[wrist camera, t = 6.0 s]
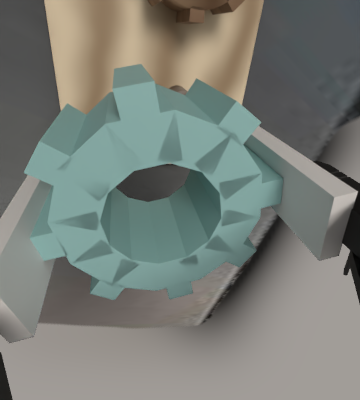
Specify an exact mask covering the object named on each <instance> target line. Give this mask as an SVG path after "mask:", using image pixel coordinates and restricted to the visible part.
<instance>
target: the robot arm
mask: <svg viewBox="0 0 360 400" xmlns="http://www.w3.org/2000/svg"><path fill="white" fill-rule="evenodd" d="M244 145H246V146H247V147H248V148H249V149H250V150H251V151H252V152H254V153H255V154H256V155H257V156H258V157H259V158H260V159H262V160H263V161H264V162H265V163H266V164H267V165H268V166H270V167H271V168H272V169H273V170H274V171H275V172H276V173H278V174H279V175H280V176H281V177H282V178H283V187H282V197H281V203H280V204H276V205H272V206H271V207H272V208H273V209H274V210H275V212H276V213H277V214H278V215H279V216H280V217H281V218H282V219H283V221H284V222H285V223H286V224H287V225H288V226H289V227H290V228H291V229H292V231H293V232H294V233H295V234H296V235H297V236H298V237H299V239H300V240H301V241H302V242H303V243H304V244H305V245H306V247H307V248H308V249H309V250H310V251H311V252H312V253H313V255H314V256H315V257H316V258H317V259H318V260H319V261H320V260H324V259H328V258H331V257H336V256H339V253H340V250H341V246H342V243H343V244H344V245H345V246H347V248H349V249H350V253H349V256H348V260H347V262H346V265H345V268H344V275H347V274H348V272H349V269H350V268H351V272H352V276H353V279H354V284H355V287H356V291H357V295H358V299H359V303H360V183H358V182H356V181H355V180H353V179H351V178H350V177H347V175H345V174H343V173H342V172H339V170H337V169H336V168H334V167H332V166H331V165H328V164H325V163H322V162H319V161H314V162H312V161H311V160H309V159H308V158H306V157H305V156H303V155H302V154H300V153H299V152H297V151H296V150H294V149H293V148H291V147H290V146H288V145H286V144H285V143H283V142H282V141H280V140H279V139H277V138H276V137H274V136H273V135H271V134H270V133H268V132H267V131H265V130H264V129H262V128H261V127H259V126H258V127H257V128H256V129H255V131H254V132H253V133H252V134H251V135H250V137H249V138H248V139H247V140H246V141H245V143H244ZM51 187H52V185H51V184H48V183H46V182H44V181H41V180H39V179H37V178H35V177H32V176H30V175H28V176H27V177H26V179H25V180H24V182H23V184H22V185H21V187H20V188H19V190H18V192H17V193H16V195H15V196H14V198H13V199H12V201H11V203H10V204H9V206H8V207H7V209H6V211H5V212H4V214H3V215H2V217H1V218H0V334H1V335H2V336H3V337H4V338H5V339H6V340H7V341H8V342H9V343H12V342H16V341H20V340H24V339H27V338H31V337H34V335H35V331H36V327H37V324H38V320H39V316H40V313H41V309H42V306H43V302H44V298H45V295H46V291H47V287H48V284H49V280H50V277H51V273H52V269H53V266H54V262H55V258H54V259H50V260H46V261H44V260H43V259H42V257H41V255H40V254H39V252H38V251H37V249H36V248H35V246H34V244H33V243H32V241H31V240H30V236H31V234H32V231H33V229H34V227H35V224H36V222H37V220H38V217H39V215H40V213H41V210H42V208H43V206H44V203H45V201H46V199H47V196H48V194H49V192H50V189H51ZM0 400H12V395H11V391H10V387H9V383H8V379H7V375H6V371H5V367H4V363H3V359H2V355H1V352H0Z"/></svg>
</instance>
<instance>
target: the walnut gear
mask: <svg viewBox="0 0 360 400" xmlns="http://www.w3.org/2000/svg"><path fill="white" fill-rule="evenodd" d="M147 1H148V2H149V4H150V5H151V6H154V5H156V4H157V3H159V2H162V3H163V4H164V5H165V6H167V7H168V8H170V9H171V10H174V11H176V12H177V16H176V23H183V24H198V23H204V15H205V11H206V10H210V11H211V13H212V14H213V15H215V14H222V13H229V12H234V11H235V10H236V9H237V8H238V7H239V6H240V5H241V4H242V3H243V2H244V1H245V0H147Z"/></svg>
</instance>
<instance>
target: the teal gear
mask: <svg viewBox="0 0 360 400" xmlns="http://www.w3.org/2000/svg"><path fill="white" fill-rule="evenodd" d="M112 90H113V92H109V93H108V94H107V95H106V96H105V97H104V98H103V99H102V100H101V101H100V102H99V103H98V104H97V105H96V106H95V107H94V108H93V109H92V110H91V111H90V112H89V113H88V114H87V115H86V114H84V113H83V112H81V111H79V110H78V109H76V108H74V107H73V106H71V105H69V104H68V103H67V104H66V105H65V107H64V108H63V109H62V111H61V112H60V114H59V115H58V116H57V118H56V119H55V120H54V122H53V123H52V125H51V126H50V127H49V129H48V130H47V131H46V133H45V134H44V136H43V137H42V138H41V140H40V141H39V143H38V145H37V147H36V149H35V151H34V153H33V155H32V157H31V159H30V161H29V163H28V165H27V167H26V169H25V171H24V173H25V174H28V175H30V176H32V177H35V178H37V179H39V180H41V181H44V182H46V183H48V184H51V185H52V187H51V189H50V192H49V194H48V196H47V199H46V201H45V203H44V206H43V208H42V210H41V213H40V215H39V217H38V220H37V222H36V224H35V227H34V229H33V231H32V234H31V236H30V240H31V241H32V243H33V244H34V246H35V248H36V249H37V251H38V252H39V254H40V255H41V257H42V259H43V260H44V261H46V260H50V259H54V258H58V257H63V256H66V257H67V259H68V261H69V262H70V264H71V265H73V266H75V267H77V268H79V269H80V270H82V271H84V272H86V273H88V274H89V275H91V276H92V278H91V288H90V294H93V295H97V296H101V297H104V298H108V299H112V300H115V299H116V298H117V296H118V295H119V294H120V293H121V292H122V290H123V289H124V288H133V289H144V290H155V291H157V290H161V289H165V288H166V289H167V292H168V296H169V299H173V298H177V297H181V296H184V295H188V294H192V293H193V291H192V285H191V281H195V280H199V279H201V278H203V277H204V276H206V275H207V274H209V273H210V272H211V271H213V270H214V269H216V268H217V267H219V266H220V265H222V264H223V263H224V262H229V263H231V264H233V265H235V266H238V267H240V266H241V265H242V264H243V263H244V262H245V261H246V260H247V259H248V258H249V257H250V256H251V255H253V254H254V253H255V252H256V249H255V247H254V246H253V244H252V243H251V241H250V240H249V238H248V236H249V234H250V233H251V231H252V229H253V228H254V226H255V225H256V223H257V221H258V220H259V218H260V211H261V208H264V207H268V206H272V205H276V204H280V203H281V197H282V187H283V178H282V177H281V176H280V175H279V174H278V173H276V172H275V171H274V170H273V169H272V168H271V167H270V166H268V165H267V164H266V163H265V162H264V161H263V160H262V159H260V158H259V157H258V156H257V155H256V154H255V153H254V152H252V151H251V150H250V149H249V148H248V147H247V146H246V145H244V143H245V141H246V140H247V139H248V138H249V137H250V135H251V134H252V133H253V132H254V131H255V129H256V128H257V127H258V126H259V124H260V123H261V122H260V121H259V120H258V119H257V118H256V117H255V116H253V115H252V114H251V113H250V112H249V111H248V110H247V109H245V108H244V107H243V106H242V105H241V104H240V103H238V102H237V101H236V100H234V99H232V98H231V97H229V96H227V95H225V94H223V93H222V92H220V91H218V90H216V89H215V88H213V87H211V86H209V85H208V84H206V83H204V82H202V81H201V80H199V79H197V78H196V80H195V81H194V83H193V84H192V86H191V87H190V89H189V90H188V92H187V93H186V95H183V94H181V93H178V92H176V91H173V90H171V89H168V88H165V87H163V86H160V85H158V84H155V82H154V80H153V78H152V77H151V76H150V75H149V73H148V72H147V71H146V69H145V68H144V67H143V66H142V64H137V65H132V66H126V67H121V68H116V69H114V76H113V87H112ZM168 163H171V164H175V165H178V166H182V167H186V168H189V169H191V170H190V173H189V175H188V177H187V180H186V182H185V184H184V185H183V186H182V187H181V188H179V189H178V190H177V191H176V192H174V193H173V194H172V195H171V196H169V197H168V198H163V199H159V200H155V201H151V202H146V201H141V200H137V199H132V198H128V197H127V196H125V195H124V194H123V193H122V192H121V191H119V190H118V189H117V188H116V186H117V185H118V184H119V183H120V182H122V181H123V180H124V179H125V178H126V177H127V176H129V175H130V174H131V173H132V172H133V171H136V170H140V169H145V168H149V167H154V166H158V165H163V164H168Z"/></svg>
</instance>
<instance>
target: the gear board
mask: <svg viewBox="0 0 360 400" xmlns="http://www.w3.org/2000/svg"><path fill="white" fill-rule="evenodd" d="M44 1H45V8H46V15H47V21H48V28H49V35H50V41H51V48H52V55H53V62H54V68H55V75H56V82H57V88H58V95H59V102H60V108H61V111H62V109H63V108H64V107H65V105H66V104H67V103H68V104H69V105H71V106H73V107H74V108H76V109H78V110H79V111H81V112H83V113H84V114H86V115H87V114H88V113H89V112H90V111H91V110H92V109H93V108H94V107H95V106H96V105H97V104H98V103H99V102H100V101H101V100H102V99H103V98H104V97H105V96H106V95H107V94H108V93H109V92H113V90H112V87H113V76H114V69H116V68H121V67H126V66H132V65H137V64H142V66H143V67H144V68H145V69H146V71H147V72H148V73H149V75H150V76H151V77H152V78H153V80H154V82H155V84H158V85H160V86H163V87H165V88H168V89H171V90H173V91H176V92H178V93H181V94H183V95H186V93H187V92H188V90H189V89H190V87H191V86H192V84H193V83H194V81H195V80H196V78H197V79H199V80H201V81H202V82H204V83H206V84H208V85H209V86H211V87H213V88H215V89H216V90H218V91H220V92H222V93H223V94H225V95H227V96H229V97H231V98H232V99H234V100H236V101H237V102H238V103H240V104H241V105H242V101H243V97H244V92H245V87H246V82H247V78H248V73H249V68H250V63H251V59H252V54H253V49H254V44H255V40H256V35H257V30H258V26H259V21H260V16H261V11H262V7H263V2H264V0H245V1H244V2H243V3H242V4H241V5H240V6H239V7H238V8H237V9H236V10H235V11H234V12H229V13H222V14H215V15H213V14H212V13H211V11H210V10H206V11H205V15H204V23H198V24H183V23H176V16H177V12H176V11H174V10H171V9H170V8H168V7H167V6H165V5H164V4H163V3H162V2H159V3H157V4H156V5H154V6H151V5H150V4H149V2H148V1H147V0H44ZM168 164H171V163H168Z"/></svg>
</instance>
